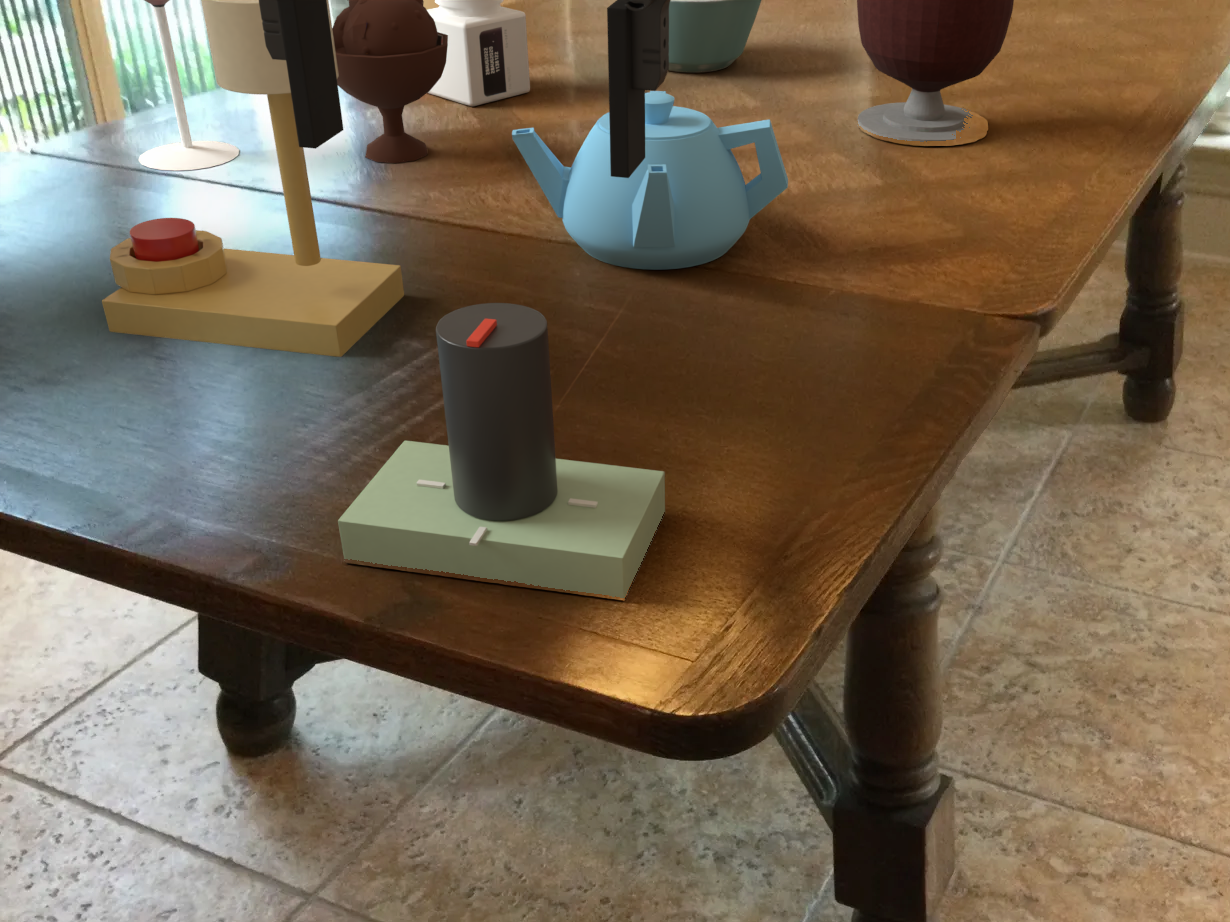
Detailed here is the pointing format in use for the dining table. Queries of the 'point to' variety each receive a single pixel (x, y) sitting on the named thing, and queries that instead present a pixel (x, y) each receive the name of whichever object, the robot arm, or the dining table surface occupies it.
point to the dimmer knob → (498, 409)
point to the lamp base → (250, 298)
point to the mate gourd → (928, 59)
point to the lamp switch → (164, 239)
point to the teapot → (660, 188)
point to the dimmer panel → (508, 525)
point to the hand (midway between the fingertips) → (472, 153)
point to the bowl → (708, 33)
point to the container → (481, 51)
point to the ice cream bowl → (389, 66)
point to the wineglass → (181, 119)
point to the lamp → (255, 72)
